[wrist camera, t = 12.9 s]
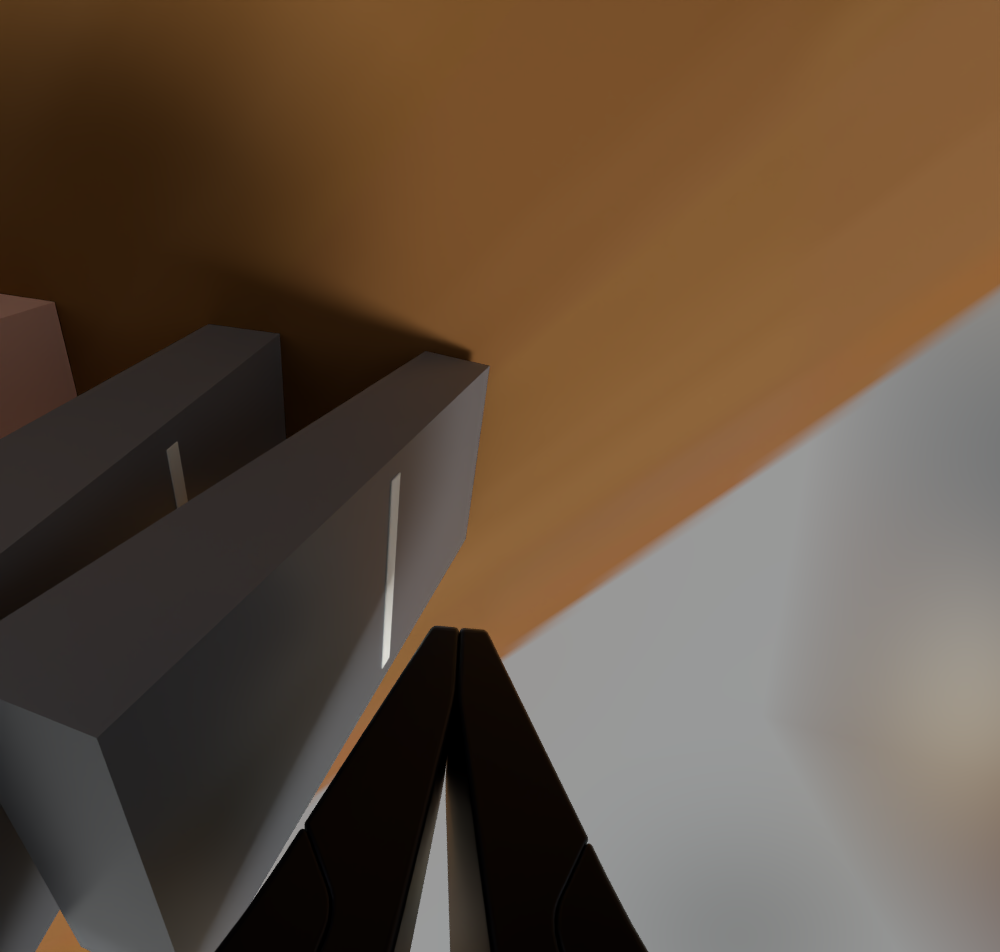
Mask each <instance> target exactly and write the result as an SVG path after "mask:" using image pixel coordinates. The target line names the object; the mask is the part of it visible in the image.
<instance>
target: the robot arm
mask: <svg viewBox="0 0 1000 952" xmlns="http://www.w3.org/2000/svg"><path fill="white" fill-rule="evenodd" d="M445 769H446V825H447V855H448V856H447V858H448V893H449V927H450V952H648V951H647V949H646V947H645V945H644V944H643V942H642V940H641V939H640V937H639V935H638V933H637V932H636V930H635V928H634V927H633V925H632V923H631V921H630V919H629V917H628V915H627V913H626V912H625V910H624V908H623V906H622V904H621V902H620V900H619V898H618V896H617V894H616V892H615V891H614V889H613V887H612V885H611V883H610V881H609V879H608V877H607V875H606V873H605V871H604V869H603V867H602V865H601V863H600V861H599V859H598V857H597V855H596V853H595V851H594V848H593V846H592V845H591V844H587V842H588V837H587V835H586V833H585V831H584V829H583V827H582V825H581V823H580V821H579V818H578V816H577V815H576V813H575V810H574V808H573V806H572V804H571V802H570V800H569V798H568V796H567V794H566V792H565V790H564V788H563V786H562V784H561V782H560V780H559V778H558V776H557V773H556V771H555V769H554V767H553V766H552V763H551V761H550V759H549V757H548V755H547V753H546V751H545V749H544V747H543V745H542V743H541V741H540V739H539V737H538V735H537V732H536V730H535V728H534V726H533V724H532V722H531V720H530V718H529V716H528V714H527V712H526V710H525V708H524V706H523V704H522V702H521V700H520V698H519V696H518V694H517V692H516V690H515V688H514V685H513V684H512V681H511V679H510V677H509V676H508V673H507V671H506V669H505V667H504V665H503V663H502V661H501V659H500V657H499V655H498V653H497V651H496V649H495V647H494V645H493V642H492V640H491V638H490V636H489V634H488V633H487V632H486V631H485V630H481V629H469V628H463V629H461V630H460V632H459V630H458V629H457V628H455V627H445V626H434V627H432V628H431V629H430V631H429V632H428V634H427V635H426V637H425V638H424V640H423V641H422V643H421V645H420V646H419V648H418V649H417V651H416V652H415V654H414V655H413V657H412V658H411V660H410V661H409V663H408V665H407V666H406V668H405V669H404V671H403V672H402V674H401V675H400V677H399V678H398V680H397V682H396V683H395V685H394V686H393V688H392V689H391V691H390V692H389V694H388V695H387V697H386V699H385V700H384V702H383V703H382V705H381V706H380V708H379V709H378V711H377V712H376V714H375V715H374V717H373V719H372V720H371V722H370V723H369V725H368V726H367V728H366V729H365V731H364V732H363V734H362V736H361V737H360V739H359V740H358V742H357V743H356V745H355V746H354V748H353V749H352V751H351V753H350V754H349V756H348V757H347V759H346V760H345V762H344V763H343V765H342V766H341V768H340V769H339V771H338V773H337V774H336V776H335V777H334V779H333V780H332V782H331V783H330V785H329V786H328V788H327V790H326V791H325V793H324V794H323V796H322V797H321V799H320V800H319V802H318V803H317V805H316V807H315V808H314V810H313V811H312V813H311V814H310V816H309V818H308V819H307V820H306V822H305V829H301V830H300V831H299V832H298V834H297V835H296V837H295V839H294V840H293V842H292V843H291V845H290V846H289V848H288V849H287V851H286V852H285V854H284V855H283V857H282V858H281V860H280V861H279V863H278V864H277V866H276V867H275V869H274V870H273V872H272V873H271V875H270V876H269V878H268V879H267V881H266V882H265V883H264V885H263V886H262V888H261V889H260V890H259V892H258V894H257V895H256V896H255V898H254V899H253V901H252V902H251V904H250V905H249V906H248V908H247V909H246V911H245V912H244V913H243V915H242V916H241V917H240V919H239V920H238V921H237V923H236V924H235V925H234V926H233V928H232V929H231V930H230V932H229V933H228V934H227V936H226V937H225V938H224V940H223V941H222V942H221V944H220V945H219V946H218V948H217V949H216V950H215V952H410V949H411V944H412V939H413V934H414V929H415V924H416V919H417V914H418V909H419V904H420V899H421V894H422V889H423V884H424V879H425V874H426V869H427V864H428V858H429V854H430V849H431V844H432V839H433V834H434V829H435V824H436V819H437V814H438V809H439V804H440V799H441V794H442V788H443V782H444V776H445ZM586 844H587V845H586Z"/></svg>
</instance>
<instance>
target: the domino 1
mask: <svg viewBox="0 0 1000 952" xmlns="http://www.w3.org/2000/svg"><path fill="white" fill-rule="evenodd" d="M76 397H77V393H76V389H75V384H74V380H73V376H72V372H71V368H70V364H69V360H68V356H67V352H66V347H65V343H64V339H63V335H62V331H61V327H60V323H59V319H58V315H57V310H56V306H55V302H52V301H45V300H39V299H32V298H26V297H19V296H12V295H6V294H0V439H1V438H3V437H5V436H7V435H9V434H10V433H12V432H14V431H16V430H18V429H19V428H21V427H23V426H25V425H27V424H28V423H30V422H32V421H34V420H36V419H38V418H39V417H41V416H43V415H45V414H47V413H48V412H50V411H52V410H54V409H56V408H57V407H59V406H61V405H63V404H65V403H66V402H68V401H70V400H72V399H74V398H76Z"/></svg>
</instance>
